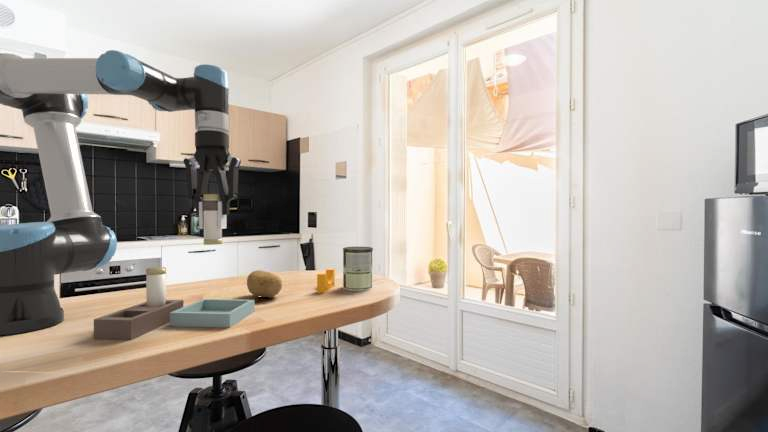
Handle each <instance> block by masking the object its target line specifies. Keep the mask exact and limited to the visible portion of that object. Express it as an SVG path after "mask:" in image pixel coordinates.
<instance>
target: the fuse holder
mask: <svg viewBox="0 0 768 432" xmlns="http://www.w3.org/2000/svg"><path fill="white" fill-rule="evenodd" d="M182 307H184V299H166V305H164V306H161V307H146V301H144V302H140V303H138V304H136V305H135V304H134V305H132V306H130V307H126V308H124V309H121V310H118V311H114V312H112V313H111V312H110V313H107V314H105V315H103V316H100V317H97V318H94V319H93V339H94V340H122V341H124V340H126V341H132V340H134V339H136V338H139V337H141V336H143V335H145V334H147V333H149V332H152V331H154V330H155V329H156V330H157V329H159V328H160V327H162V326H164V325H166V324H170V312H173V311H175V310H178V309H180V308H182Z"/></svg>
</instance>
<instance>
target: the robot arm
mask: <svg viewBox="0 0 768 432" xmlns="http://www.w3.org/2000/svg"><path fill="white" fill-rule="evenodd" d="M229 91H230V88H229V75H228V73H227V71H226V70H225V69H223V68H222V67H219V66H218V65H217V66H216V65H212V64H199V65H197V66H195V67H194V71H193V76H189V77H179V78H178V77H175V76H171V74H168V73H166V72H164V71H162V70H160V69H157V68H155V67H154V66H152V65H149V64H148V63H146V62H143V61H141V60H139V59H138V58H136V57H134V56H132V55H131V54H129V53H124V52H122V51H120V50H113V49H111V50H110V49H109V50H106V52H104V53H101V54H100V55H99V57H96V58H95V57H88V58H87V57H82V58H81V57H76V58H75V57H74V58H73V57H71V58H70V57H59V58H57V57H53V58H51V57H49V58H47V57H46V58H44V57H43V58H42V57H40V58H39V57H38V58H37V57H34V58H32V57H28V58H27V57H26V58H25V57H21V56H20V55H17V54H15V53H0V105H3V106H6V107H10V108H13V109H16V110H17V109H18V110H21V113H22V116H23V122H24V123H25V124H27V125H28V126H30V127H32V128H33V131H34V136H35V142H36V147H37V151H38V156H39V162H40V168H41V172H42V177H43V181H44V187H45V192H46V197H47V201H48V207H49V211H50V212H49V213H50V218H48V220H47V221H35V222H34V221H32V222H25V223H24V222H22V223H14V224H13V223H12V224H4V225H0V336H5V335H8V336H9V335H14V334H21V333H27V332H33V331H38V330H42V329H46V328H49V327H53V326H56V325H58V324H61V323H62V322H64V320H65V311H64V309H63V307H61V303H60V300H59V297H58V294H57V293H56V289H55V276H56V275H61V274H62V275H63V274H67V273H74V272H75V273H76V272H81V271H82V272H84V271H85V272H86V271H90V270H93V269H98V268H102V267H103V266H105V265H107V264H108V263H109V262H110V261H111V260H112V258H113V257H114V256H115V254H116V251H117V247H118V246H117V245H118V240H117V239H118V238H117V236H116V233H115V232H114V230H113V229H112V230H111V227H108V226H105V225H104V224H103V220H102V217H101V216H100V215H99V214H97V213H96V212H94V210H93V207H92V201H91V197H90V193H89V187H88V182H87V178H86V173H85V168H84V162H83V157H82V152H81V148H80V143H79V138H78V135H77V134H78V133H77V127H78V126H79V125H80V124H81V123H82V120H81V119H83V118H84V117H85V115H86V114H87V111H86V110H87V109H88V108H89V100H88V96H87V95H115V96H117V95H118V96H133V97H136V98H139V99H142V100H144V101H147V103H148V104H149V105H150V106H152V108H153V110H156V111H159V112H168V113H172V112H179V111H193V110H194V130H196V132H195V133H194V146H195V152H194V154H193V156H191V157H190V158H187V157H185V158H184V159H183V164H184V166H185V171H186V172H185V175H186V194H187V195H186V196H187V199H189V200H192V201H194V202H195V214H196V216H198V229H199V230H204V211H203V194H207V190H208V185H209V181H210V180H209V179H210V175H211V174H212V172H214V174H215V177H216V182H217V186H218V192H219V194H220V197H221V199H219V200H220V201H222V202H218V229H222V230H223V229H227V224H228V223H227V222H228V221H227V220H228V219H227V216H229V215H230V213H231V212H230V211H231V207H230V205H231V201H232V200H236V199H238V194H239V193H238V192H239V191H238V190H239V169H240V168H239V167H240V166H241V162H242V160H241V159H240V158H238V157H234V156H231V153H230V151H229V148H230V135H229V134H228V133H229V132H230V122H229V121H230V119H229V94H230V93H229ZM197 164H198V165H199V167H198V170H197ZM227 164H228V165H229V166H228V179H227V176H226V174H227V171H226V170H227V169H226V165H227ZM197 176H198V177H197ZM227 180H228V181H227Z"/></svg>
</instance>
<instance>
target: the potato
mask: <svg viewBox="0 0 768 432" xmlns="http://www.w3.org/2000/svg"><path fill="white" fill-rule="evenodd" d="M246 286H247V289H248V292H249V293H251V294H252V295H253V296H255V297H256V296H261V297H268V298H267V299H272V298H274V297H275V296H277V295H278V294H279V293H280V291H281V290H282V286H283V281H282V279H281V278H280V276H277V274H274V273H272V272H269V271H264V270H254V271H252V272H250V273H249V274H248V276H247V279H246Z"/></svg>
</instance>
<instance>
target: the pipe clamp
mask: <svg viewBox="0 0 768 432" xmlns="http://www.w3.org/2000/svg"><path fill="white" fill-rule="evenodd" d="M335 270H336V269H335V268H326V269H325V273H323V272H321V273H320V272H319V273H317V275H316V276H317V277H316V280H317V281H316V293H317V294H326V293H327V292H329V291H330V290H331V289H332V288H334V287H335V284H336V283H335V281H336V280H335V277H336V276H335Z"/></svg>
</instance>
